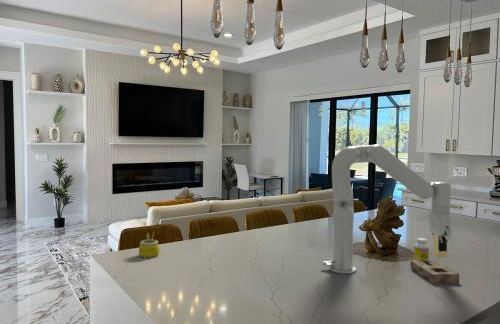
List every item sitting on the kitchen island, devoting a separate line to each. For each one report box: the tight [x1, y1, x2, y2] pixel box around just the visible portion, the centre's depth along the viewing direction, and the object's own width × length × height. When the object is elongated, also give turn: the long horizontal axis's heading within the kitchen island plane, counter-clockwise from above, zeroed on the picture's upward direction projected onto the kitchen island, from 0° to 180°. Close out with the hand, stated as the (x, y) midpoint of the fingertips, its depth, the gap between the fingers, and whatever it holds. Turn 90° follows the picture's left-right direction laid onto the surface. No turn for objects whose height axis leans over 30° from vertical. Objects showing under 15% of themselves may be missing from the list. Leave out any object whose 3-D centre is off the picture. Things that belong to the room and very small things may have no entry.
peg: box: [432, 234, 448, 259], centre depth 172 cm, size 4×4×10 cm
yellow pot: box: [138, 231, 160, 259], centre depth 207 cm, size 13×11×12 cm
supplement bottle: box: [413, 237, 430, 261], centre depth 194 cm, size 7×7×13 cm
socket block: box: [410, 259, 460, 285], centre depth 177 cm, size 12×20×4 cm, turn 3°
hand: (439, 249), depth 172 cm, fingers closed on peg, 4 cm apart
